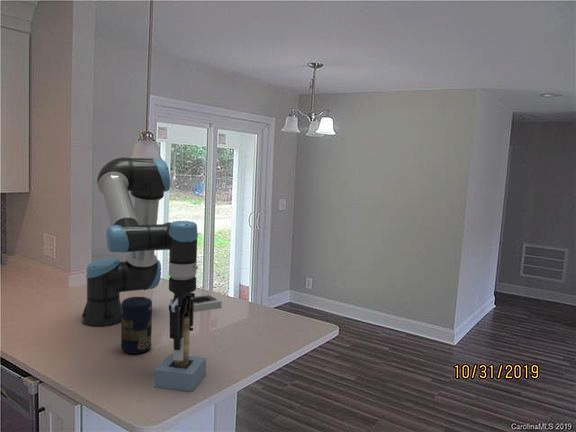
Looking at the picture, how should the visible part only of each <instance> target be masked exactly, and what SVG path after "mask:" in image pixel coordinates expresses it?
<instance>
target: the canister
mask: <svg viewBox="0 0 576 432" xmlns="http://www.w3.org/2000/svg"><path fill="white" fill-rule="evenodd" d="M121 305H122V309H121V322H120V326H121V329H120V330H121V333H120V347H121V351H123V352H125V353H127V354H141V353H144V352H147V351H148V350H150V348H151V347H152V330H153V329H152V324H153V323H152V322H153V321H152V320H153V319H152V317H153V316H152V314H153V311H152V310H153V301H152V299H151V298H148V297H146V296H131V297H127V298H125V299H123V300H122V302H121Z"/></svg>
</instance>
